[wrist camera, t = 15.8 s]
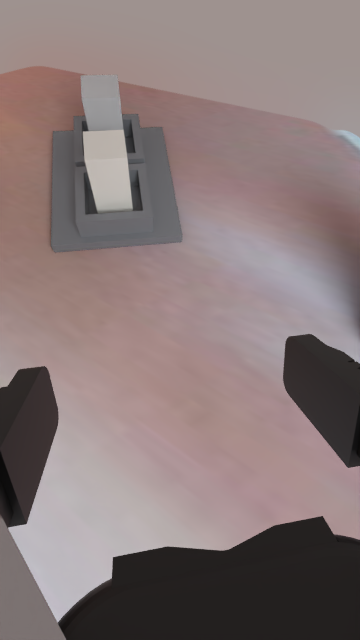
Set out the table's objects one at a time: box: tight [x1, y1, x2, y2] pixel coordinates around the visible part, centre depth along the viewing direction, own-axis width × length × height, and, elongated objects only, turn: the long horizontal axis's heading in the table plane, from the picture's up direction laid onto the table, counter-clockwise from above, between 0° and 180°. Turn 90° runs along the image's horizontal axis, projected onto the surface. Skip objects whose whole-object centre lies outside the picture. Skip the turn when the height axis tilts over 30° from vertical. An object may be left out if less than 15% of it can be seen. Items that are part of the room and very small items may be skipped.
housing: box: [51, 75, 182, 252], centre depth 44 cm, size 18×23×12 cm
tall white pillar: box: [83, 130, 133, 214], centre depth 41 cm, size 5×5×10 cm
